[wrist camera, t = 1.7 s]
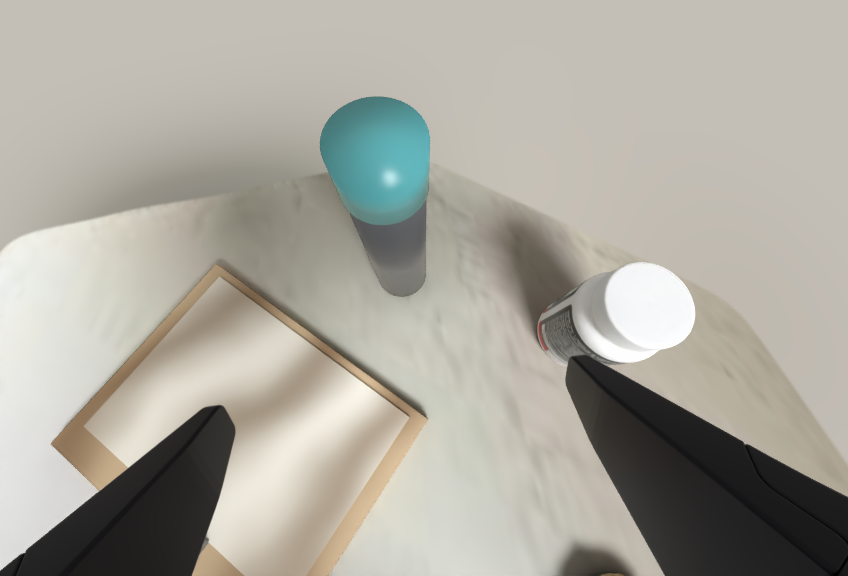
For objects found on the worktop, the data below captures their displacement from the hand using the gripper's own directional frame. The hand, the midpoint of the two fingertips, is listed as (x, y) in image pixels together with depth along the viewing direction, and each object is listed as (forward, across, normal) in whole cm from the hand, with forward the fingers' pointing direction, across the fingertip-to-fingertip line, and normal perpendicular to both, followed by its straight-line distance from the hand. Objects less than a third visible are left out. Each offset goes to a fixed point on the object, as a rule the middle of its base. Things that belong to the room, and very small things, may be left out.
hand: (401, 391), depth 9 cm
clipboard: (+9, +11, +10) cm, 17 cm away
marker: (+15, 0, +4) cm, 16 cm away
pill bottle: (+11, -11, +8) cm, 18 cm away
